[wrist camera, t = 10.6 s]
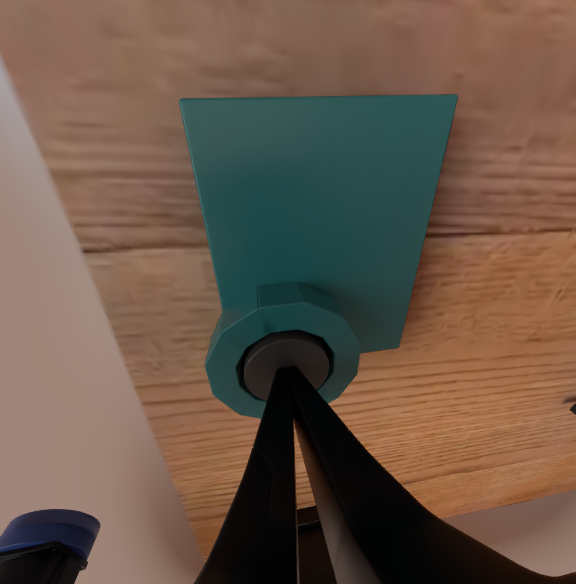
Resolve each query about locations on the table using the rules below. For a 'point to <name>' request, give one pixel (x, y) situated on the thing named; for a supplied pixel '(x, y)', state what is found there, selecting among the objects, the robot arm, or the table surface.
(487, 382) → the table surface
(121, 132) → the table surface
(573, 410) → the toy
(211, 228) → the button box
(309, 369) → the button
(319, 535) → the bracket
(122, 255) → the table surface
